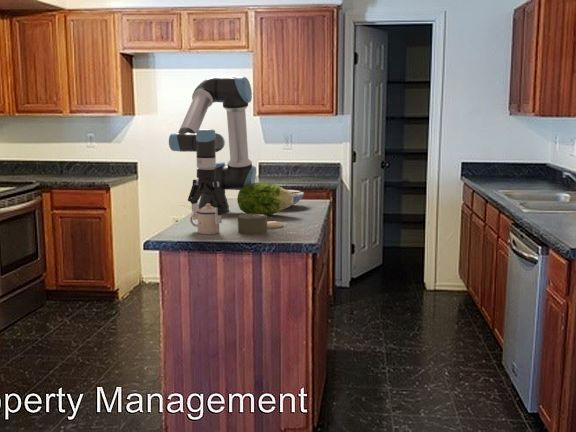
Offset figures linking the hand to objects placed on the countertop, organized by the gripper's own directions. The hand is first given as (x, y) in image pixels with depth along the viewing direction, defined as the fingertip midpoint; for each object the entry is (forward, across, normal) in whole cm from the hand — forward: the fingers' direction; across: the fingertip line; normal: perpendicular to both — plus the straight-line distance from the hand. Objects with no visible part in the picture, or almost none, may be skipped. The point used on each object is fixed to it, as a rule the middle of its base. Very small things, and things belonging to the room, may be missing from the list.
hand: (206, 221), depth 249 cm
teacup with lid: (+5, -1, 0) cm, 5 cm away
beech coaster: (+4, +10, +27) cm, 29 cm away
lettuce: (+4, -10, +46) cm, 47 cm away
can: (+5, +14, +12) cm, 19 cm away
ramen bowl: (+4, -22, +70) cm, 73 cm away
